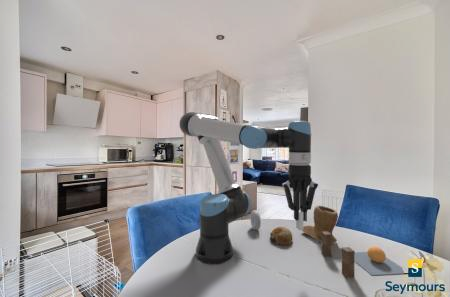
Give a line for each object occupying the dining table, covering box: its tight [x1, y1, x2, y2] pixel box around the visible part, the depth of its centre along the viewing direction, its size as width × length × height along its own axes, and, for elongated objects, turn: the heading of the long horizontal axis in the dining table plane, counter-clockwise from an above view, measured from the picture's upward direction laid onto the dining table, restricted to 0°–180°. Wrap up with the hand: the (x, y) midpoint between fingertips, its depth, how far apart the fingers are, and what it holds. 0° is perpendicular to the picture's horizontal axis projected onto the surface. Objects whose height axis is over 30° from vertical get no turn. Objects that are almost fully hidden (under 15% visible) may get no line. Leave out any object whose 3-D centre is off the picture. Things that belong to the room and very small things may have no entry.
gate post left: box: [321, 231, 333, 258], centre depth 80 cm, size 3×3×9 cm
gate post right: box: [341, 246, 356, 279], centre depth 68 cm, size 3×3×9 cm
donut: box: [250, 209, 262, 231], centre depth 105 cm, size 10×4×10 cm, turn 9°
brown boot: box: [301, 205, 339, 244], centre depth 95 cm, size 15×12×15 cm
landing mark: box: [354, 251, 405, 277], centre depth 75 cm, size 14×14×1 cm
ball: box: [366, 246, 387, 263], centre depth 75 cm, size 6×6×6 cm
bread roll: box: [269, 226, 294, 246], centre depth 93 cm, size 10×10×8 cm
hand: (299, 228), depth 73 cm, fingers closed
